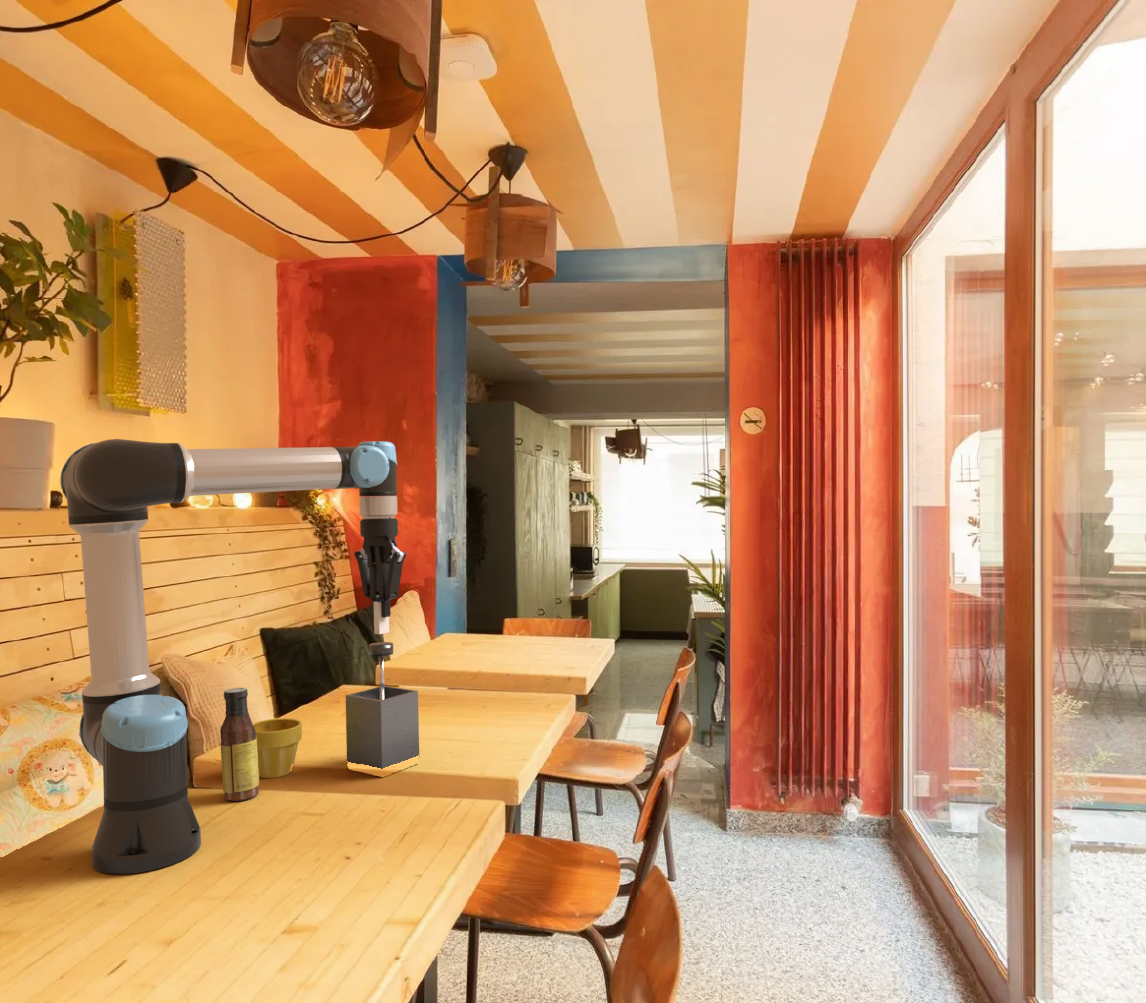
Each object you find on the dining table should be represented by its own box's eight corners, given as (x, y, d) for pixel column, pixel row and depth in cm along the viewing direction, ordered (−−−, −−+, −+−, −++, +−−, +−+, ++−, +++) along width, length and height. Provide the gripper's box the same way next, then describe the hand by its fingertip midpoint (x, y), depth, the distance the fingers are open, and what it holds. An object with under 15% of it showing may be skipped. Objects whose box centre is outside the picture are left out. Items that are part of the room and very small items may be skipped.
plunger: (381, 716, 164) (380, 649, 164) (353, 711, 169) (351, 645, 169) (411, 707, 171) (410, 642, 171) (383, 702, 176) (382, 639, 176)
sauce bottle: (265, 791, 157) (263, 685, 157) (249, 803, 151) (247, 693, 151) (232, 790, 157) (230, 685, 157) (214, 802, 151) (212, 693, 151)
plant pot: (291, 781, 162) (290, 731, 162) (239, 782, 162) (238, 732, 162) (309, 764, 172) (308, 717, 172) (260, 765, 173) (259, 718, 173)
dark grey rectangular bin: (382, 778, 163) (380, 701, 163) (347, 769, 169) (345, 695, 169) (431, 759, 174) (430, 687, 174) (397, 751, 180) (395, 682, 180)
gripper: (415, 516, 169) (418, 632, 169) (370, 517, 177) (373, 628, 177) (387, 517, 163) (390, 638, 163) (342, 518, 170) (345, 633, 171)
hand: (381, 632), depth 170 cm, fingers closed
